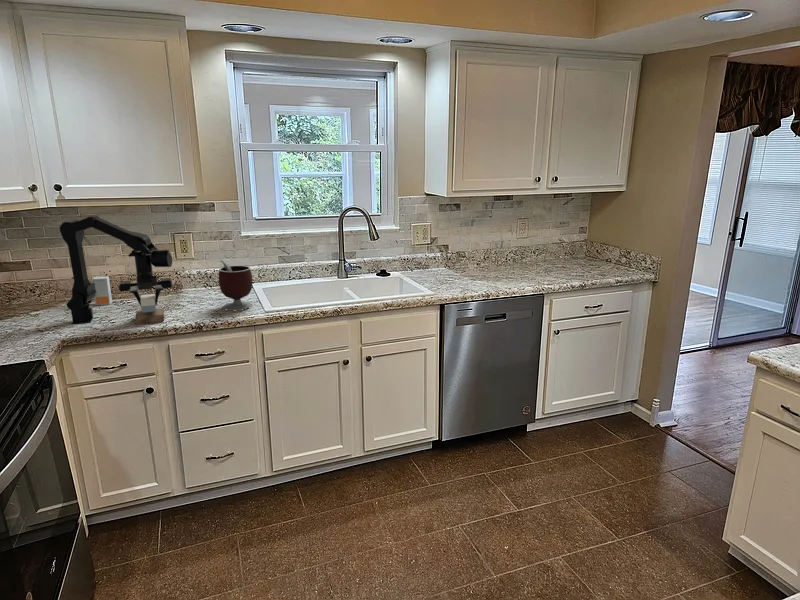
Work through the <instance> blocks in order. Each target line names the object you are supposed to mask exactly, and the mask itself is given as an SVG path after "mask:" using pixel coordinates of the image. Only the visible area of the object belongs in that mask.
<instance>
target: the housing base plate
mask: <svg viewBox="0 0 800 600" xmlns="http://www.w3.org/2000/svg"><path fill="white" fill-rule="evenodd" d="M140 308H141V310H142V312H153V311H156V309H157V305H156V304H155V305H150V306H140Z"/></svg>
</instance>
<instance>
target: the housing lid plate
mask: <svg viewBox="0 0 800 600" xmlns="http://www.w3.org/2000/svg"><path fill="white" fill-rule="evenodd" d="M140 297H141V299H140V302H141V306H150V305H155V293H151V294H140ZM141 306H140V307H141Z"/></svg>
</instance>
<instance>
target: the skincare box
mask: <svg viewBox="0 0 800 600" xmlns="http://www.w3.org/2000/svg"><path fill="white" fill-rule="evenodd" d="M91 283H95V290H96V292H97V293H95V297H94V298H93V299H94V304H95V306H101V305H103V306H105V305H106V306H107V304H108V305H112V303H113V298H112V290H111V283H110V277H109V275H107V276H106V275H105V276H93V277H92V278H91Z"/></svg>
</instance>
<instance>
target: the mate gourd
mask: <svg viewBox="0 0 800 600" xmlns="http://www.w3.org/2000/svg"><path fill="white" fill-rule="evenodd" d="M220 262H221V263H222V264H223V267H220V268H218V287H219V289H220V292H221V293H222V294H223V295H224V297H226V298H228V299H232V300H233V301H232V302H228V303H225V304H223V306H222V309H223V308H224V309H227V310H226V311H228V310H241V311H243V310H242V309H246V310H248V309H247V308H249V307H251V306H252V307H253V303H252V302H249V301H242V300H241V299H243V298H245V297H247V296H249V294H250V293H251V292H252V290H253V274H252V270H251V267H250V266H249V265H248V266H247V265H230V264H229V263H228V262H227V261H225V260H223V259H220ZM252 307H251V308H252ZM224 309H223V310H224ZM249 309H250V308H249Z"/></svg>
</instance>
